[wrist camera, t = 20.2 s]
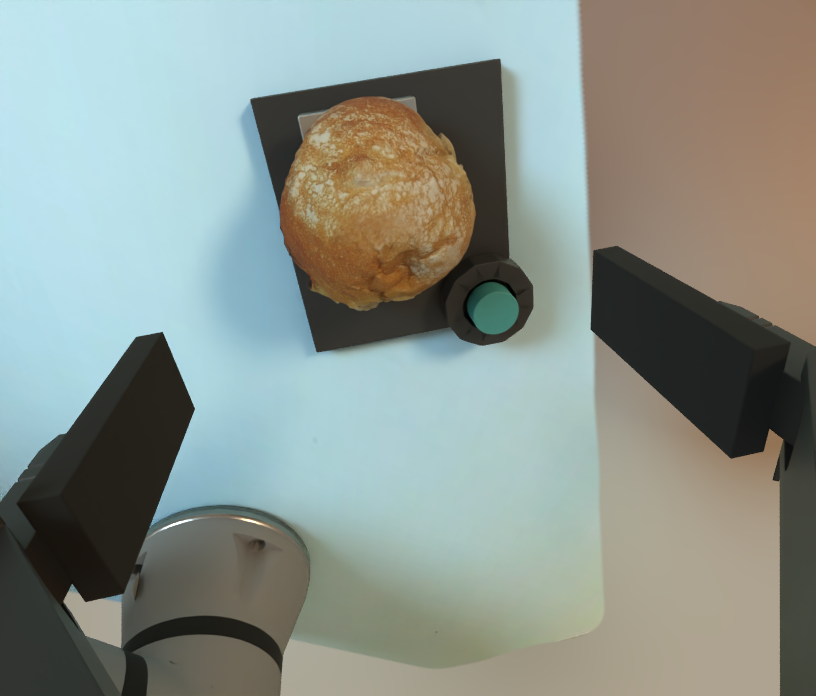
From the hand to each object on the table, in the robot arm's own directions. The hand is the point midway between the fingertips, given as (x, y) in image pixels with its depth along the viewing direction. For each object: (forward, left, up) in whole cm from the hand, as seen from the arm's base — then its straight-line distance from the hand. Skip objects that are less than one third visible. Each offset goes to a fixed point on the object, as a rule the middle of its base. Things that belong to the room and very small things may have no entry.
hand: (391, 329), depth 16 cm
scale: (-2, -2, -19) cm, 19 cm away
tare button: (-8, -7, -16) cm, 19 cm away
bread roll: (0, -1, -15) cm, 14 cm away
